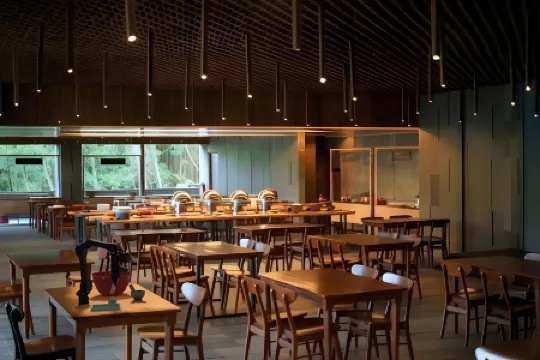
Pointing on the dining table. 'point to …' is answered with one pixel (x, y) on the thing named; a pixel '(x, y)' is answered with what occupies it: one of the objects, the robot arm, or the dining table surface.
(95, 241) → the robot arm
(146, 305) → the dining table surface
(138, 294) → the mortar and pestle
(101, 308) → the teal tray
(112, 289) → the birch pin
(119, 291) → the mixing bowl
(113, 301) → the grey cup
